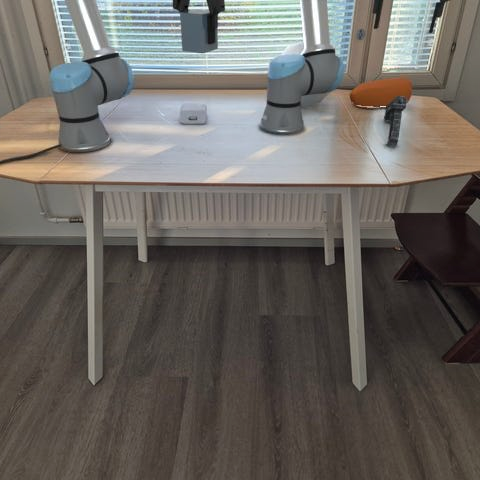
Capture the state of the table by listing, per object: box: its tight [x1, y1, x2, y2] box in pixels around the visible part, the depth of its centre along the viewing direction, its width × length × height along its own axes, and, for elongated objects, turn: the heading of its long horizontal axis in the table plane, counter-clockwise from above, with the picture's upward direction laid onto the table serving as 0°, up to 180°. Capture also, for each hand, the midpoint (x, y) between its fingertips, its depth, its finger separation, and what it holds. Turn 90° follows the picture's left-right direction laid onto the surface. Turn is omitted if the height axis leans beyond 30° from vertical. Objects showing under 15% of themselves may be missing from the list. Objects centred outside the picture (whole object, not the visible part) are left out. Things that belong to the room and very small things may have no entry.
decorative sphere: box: [279, 40, 331, 109], centre depth 160 cm, size 24×25×25 cm
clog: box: [349, 77, 413, 110], centre depth 164 cm, size 12×11×25 cm
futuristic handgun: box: [383, 96, 408, 147], centre depth 138 cm, size 4×29×15 cm, turn 164°
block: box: [179, 9, 219, 54], centre depth 104 cm, size 6×8×9 cm
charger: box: [179, 102, 208, 125], centre depth 151 cm, size 5×9×15 cm
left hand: (199, 42), depth 106 cm, fingers closed on block, 6 cm apart
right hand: (402, 30), depth 105 cm, fingers open, 13 cm apart
